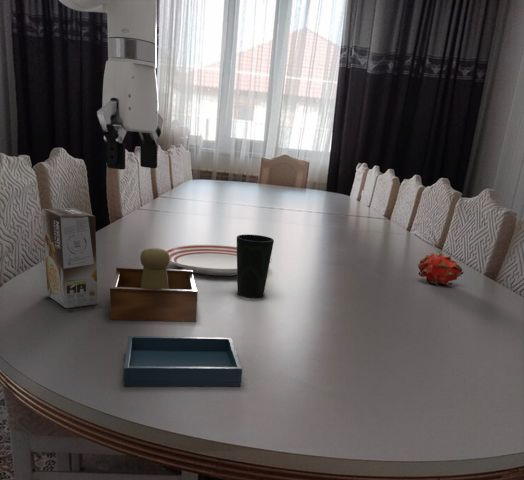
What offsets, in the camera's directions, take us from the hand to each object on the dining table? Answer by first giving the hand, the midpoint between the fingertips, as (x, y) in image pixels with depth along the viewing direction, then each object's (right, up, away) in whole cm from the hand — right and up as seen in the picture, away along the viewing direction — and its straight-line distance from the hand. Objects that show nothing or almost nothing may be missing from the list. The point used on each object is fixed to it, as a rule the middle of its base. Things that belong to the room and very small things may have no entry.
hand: (133, 168), depth 90 cm
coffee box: (-13, -22, +7) cm, 27 cm away
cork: (+2, -24, +7) cm, 25 cm away
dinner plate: (+11, -11, +41) cm, 44 cm away
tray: (+11, -34, -16) cm, 39 cm away
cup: (+20, -20, +21) cm, 35 cm away
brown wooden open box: (+2, -24, +7) cm, 25 cm away
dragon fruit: (+69, -14, +47) cm, 84 cm away
